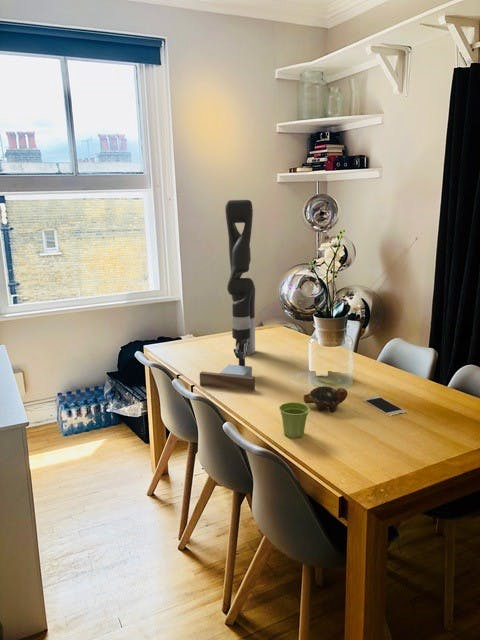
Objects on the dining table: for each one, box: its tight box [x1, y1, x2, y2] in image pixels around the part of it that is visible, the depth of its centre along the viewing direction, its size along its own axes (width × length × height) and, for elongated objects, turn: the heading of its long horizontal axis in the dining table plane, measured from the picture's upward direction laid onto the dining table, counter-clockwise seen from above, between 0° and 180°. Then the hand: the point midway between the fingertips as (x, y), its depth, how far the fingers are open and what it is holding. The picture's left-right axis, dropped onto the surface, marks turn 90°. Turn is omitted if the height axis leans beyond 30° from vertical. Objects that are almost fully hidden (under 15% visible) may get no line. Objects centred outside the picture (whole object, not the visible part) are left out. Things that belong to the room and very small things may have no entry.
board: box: [199, 371, 256, 392], centre depth 201 cm, size 2×22×5 cm, turn 70°
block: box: [219, 364, 253, 377], centre depth 210 cm, size 11×10×4 cm
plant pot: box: [278, 401, 311, 439], centre depth 160 cm, size 9×9×9 cm
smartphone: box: [362, 395, 407, 416], centre depth 181 cm, size 7×15×1 cm, turn 23°
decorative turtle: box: [303, 385, 349, 413], centre depth 180 cm, size 10×15×8 cm, turn 80°
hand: (241, 366), depth 216 cm, fingers closed
